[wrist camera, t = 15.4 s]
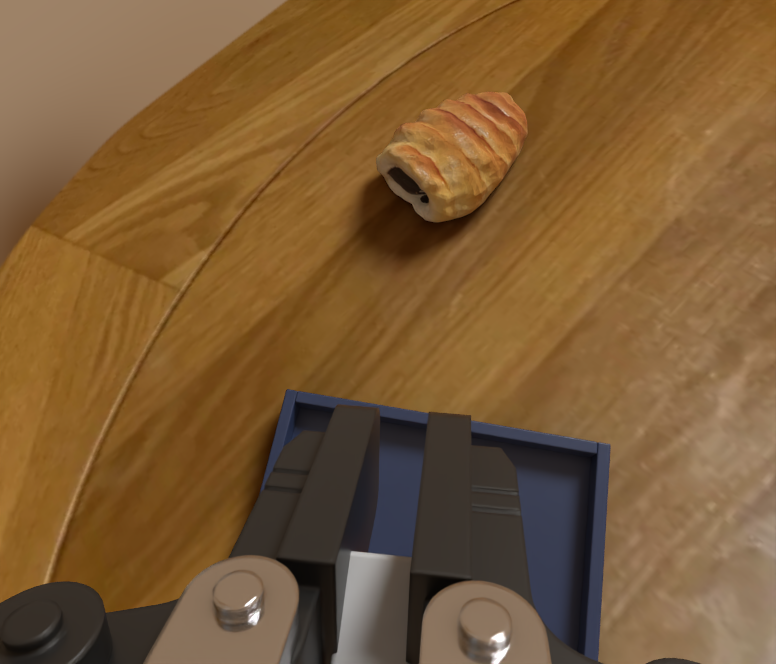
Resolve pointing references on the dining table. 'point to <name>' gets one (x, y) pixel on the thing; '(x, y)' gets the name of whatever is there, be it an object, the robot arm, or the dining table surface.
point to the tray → (537, 498)
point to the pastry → (454, 154)
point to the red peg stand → (374, 610)
